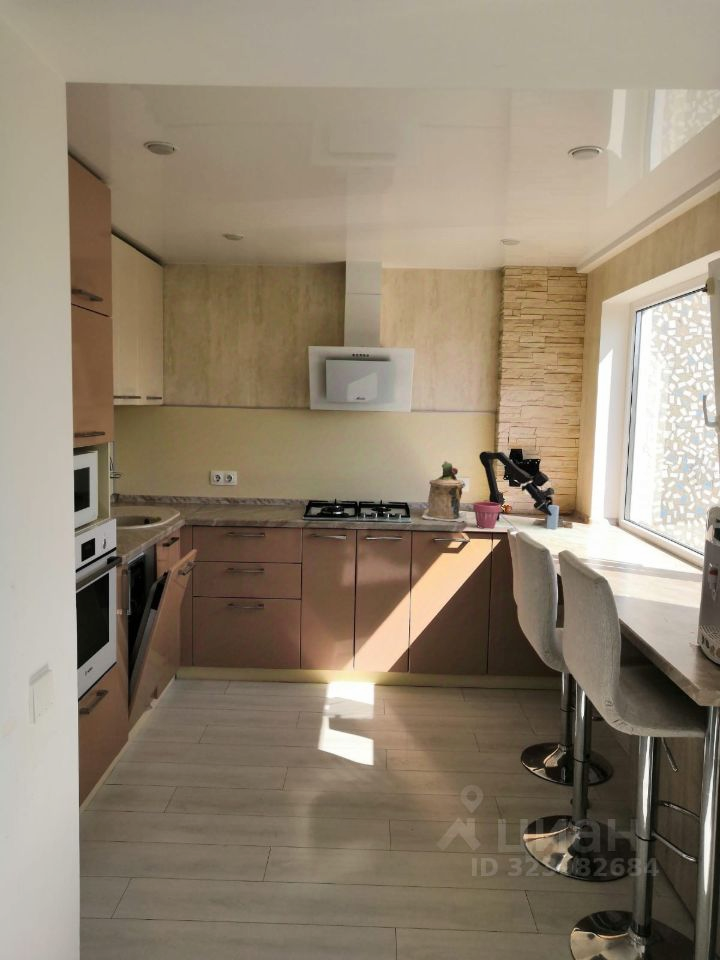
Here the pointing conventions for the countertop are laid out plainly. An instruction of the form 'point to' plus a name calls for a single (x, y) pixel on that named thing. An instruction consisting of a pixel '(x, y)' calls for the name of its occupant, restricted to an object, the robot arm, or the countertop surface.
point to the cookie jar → (445, 497)
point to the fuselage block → (553, 517)
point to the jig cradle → (560, 522)
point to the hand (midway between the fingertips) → (553, 514)
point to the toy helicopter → (507, 508)
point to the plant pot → (486, 513)
